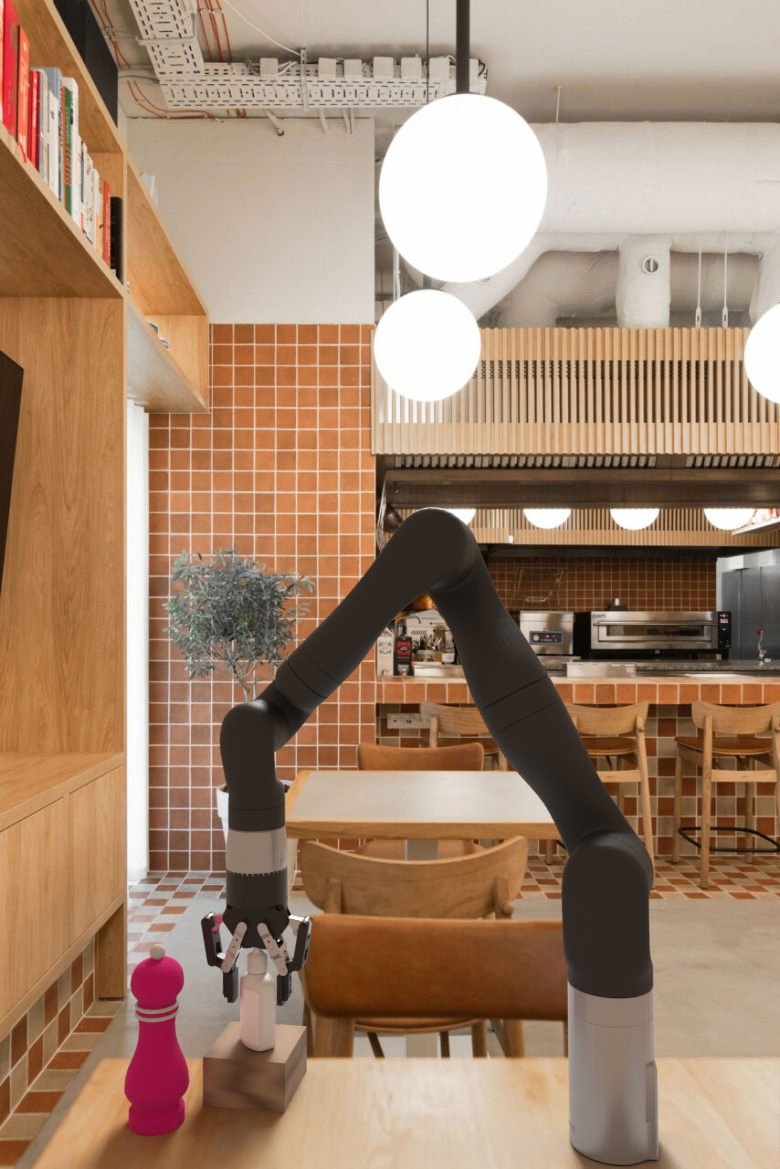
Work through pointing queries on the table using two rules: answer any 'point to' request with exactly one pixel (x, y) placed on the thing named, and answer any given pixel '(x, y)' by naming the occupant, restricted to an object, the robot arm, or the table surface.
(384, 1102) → the table surface
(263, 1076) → the walnut box
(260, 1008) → the eye dropper bottle
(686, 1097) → the table surface
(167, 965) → the pepper mill
